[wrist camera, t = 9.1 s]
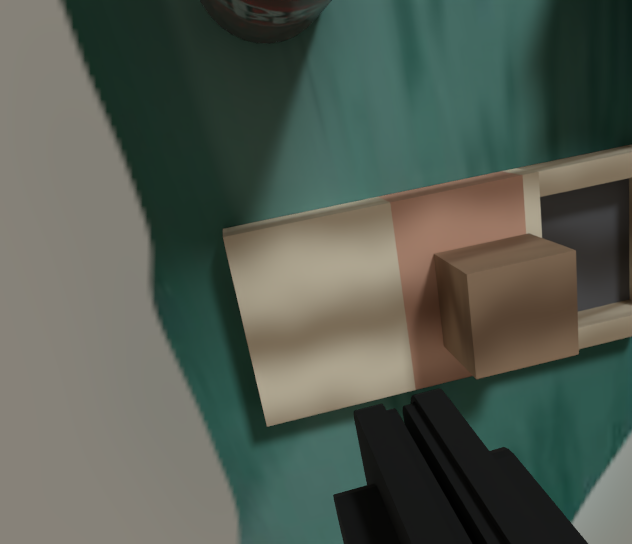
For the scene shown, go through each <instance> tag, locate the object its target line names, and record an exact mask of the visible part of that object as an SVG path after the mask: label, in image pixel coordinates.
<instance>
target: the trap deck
mask: <svg viewBox="0 0 632 544" xmlns="http://www.w3.org/2000/svg"><path fill="white" fill-rule="evenodd" d="M528 233H530V234H532V235H535V236H538V237H541V238H543V239H546V240H549V241H552V242H554V243H557V244H560V245H563V246H565V247H568V248H571V249H574V250H576V271H577V306H578V341H579V349H582V348H586V347H590V346H594V345H598V344H602V343H606V342H610V341H615V340H619V339H623V338H627V337H631V336H632V145H627V146H622V147H617V148H612V149H607V150H602V151H598V152H593V153H588V154H583V155H578V156H573V157H568V158H564V159H559V160H554V161H549V162H544V163H539V164H534V165H530V166H525V167H520V168H515V169H510V170H505V171H501V172H496V173H491V174H486V175H481V176H476V177H471V178H467V179H462V180H457V181H452V182H447V183H442V184H437V185H433V186H428V187H423V188H418V189H413V190H408V191H403V192H399V193H394V194H389V195H384V196H379V197H374V198H369V199H365V200H360V201H355V202H350V203H345V204H340V205H335V206H331V207H326V208H321V209H316V210H311V211H306V212H302V213H297V214H292V215H287V216H282V217H277V218H272V219H268V220H263V221H258V222H253V223H248V224H243V225H238V226H234V227H229V228H224V229H223V240H224V245H225V249H226V253H227V258H228V262H229V266H230V270H231V275H232V279H233V283H234V288H235V292H236V296H237V300H238V305H239V309H240V313H241V317H242V322H243V326H244V330H245V335H246V339H247V343H248V347H249V352H250V356H251V360H252V365H253V369H254V373H255V377H256V382H257V386H258V390H259V394H260V399H261V403H262V407H263V412H264V416H265V420H266V424H267V427H268V426H272V425H276V424H280V423H284V422H288V421H292V420H296V419H300V418H304V417H308V416H313V415H317V414H321V413H325V412H329V411H333V410H337V409H341V408H345V407H349V406H353V405H357V404H361V403H365V402H369V401H373V400H377V399H381V398H385V397H389V396H393V395H397V394H401V393H405V392H409V391H413V390H417V389H421V388H425V387H429V386H433V385H437V384H441V383H445V382H449V381H453V380H457V379H462V378H466V377H470V376H473V375H472V374H471V373H470V372H469V371H468V370H467V369H466V368H465V367H464V366H463V365H462V364H461V363H460V362H459V361H458V360H457V359H456V358H455V357H454V356H453V355H452V354H451V353H450V352H449V351H448V350H447V349H446V348H445V347H444V343H443V334H442V325H441V316H440V307H439V298H438V288H437V279H436V270H435V261H434V254H435V253H439V252H444V251H449V250H453V249H458V248H463V247H467V246H472V245H477V244H481V243H486V242H491V241H495V240H500V239H505V238H509V237H514V236H519V235H523V234H528Z"/></svg>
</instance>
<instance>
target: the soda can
mask: <svg viewBox="0 0 632 544" xmlns="http://www.w3.org/2000/svg"><path fill="white" fill-rule="evenodd" d="M331 1H332V0H200V2H201V3H202V5H203V6H204V8H205V9H206V11H207V12H208V14H209V15H210V16H211V17H212V18H213V19H214V20H215V21H216V23H217V24H218V25H219V26H221V27H222V28H223V29H225V30H226V31H228V32H229V33H230V34H232V35H234V36H236V37H239V38H241V39H243V40H246V41H250V42H254V43H268V44H271V43H276V42H282V41H285V40H288V39H290V38H292V37H295V36H297V35H298V34H299V33H301V32H302V31H304V30H305V29H307V28H308V27H309V25H310V24H311V23H312V22H313V21H314V20H315V19H316V18H317V17H318V16H319V15H320V13H321V12H322V11H323V10H324V9H325V8H326V7H327V5H328V4H329V3H330V2H331Z"/></svg>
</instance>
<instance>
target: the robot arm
mask: <svg viewBox="0 0 632 544" xmlns="http://www.w3.org/2000/svg"><path fill="white" fill-rule="evenodd" d="M403 416H404V422H405V424H404V422H403V420H402V419H401V417H400V415H399V413H398V412H397V410H396V409H395V408H394V409H391V410H387V411H386V409H385V407H384V405H383V404H378V405H374V406H371V407H367V408H363V409H359V410H355V411H354V420H355V425H356V430H357V435H358V440H359V446H360V451H361V456H362V461H363V466H364V471H365V476H366V482H367V486H363V487H359V488H356V489H352V490H349V491H345V492H342V493H338V494H334V495H333V496H334V502H335V507H336V511H337V516H338V520H339V525H340V529H341V533H342V537H343V542H344V544H588V543H587V542H586V541H585V540H584V538H583V537H582V536H581V535H580V533H579V532H578V531H577V530H576V529H575V527H574V526H573V525H572V524H571V522H570V521H569V520H568V519H567V518H566V516H565V515H564V514H563V513H562V512H561V510H560V509H559V508H558V507H557V506H556V504H555V503H554V502H553V501H552V499H551V498H550V497H549V496H548V495H547V493H546V492H545V491H544V490H543V489H542V487H541V486H540V485H539V484H538V483H537V481H536V480H535V479H534V478H533V477H532V475H531V474H530V473H529V472H528V471H527V469H526V468H525V467H524V466H523V464H522V463H521V462H520V461H519V460H518V458H517V457H516V456H515V455H514V454H513V453H512V452H511V451H510V450H509V449H507V448H505V447H503V448H499V449H495V450H492V451H489V450H488V449H487V448H486V446H485V445H484V444H483V442H482V441H481V440H480V438H479V437H478V436H477V434H476V433H475V432H474V431H473V429H472V428H471V427H470V425H469V424H468V423H467V421H466V420H465V419H464V417H463V416H462V415H461V414H460V412H459V411H458V410H457V408H456V407H455V406H454V404H453V403H452V402H451V400H450V399H449V398H448V397H447V395H446V394H445V393H444V391H443V390H442V389H435V390H431V391H427V392H424V393H420V394H416V395H412V396H411V404H409V405H406V406H403Z"/></svg>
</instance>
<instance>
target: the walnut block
mask: <svg viewBox="0 0 632 544" xmlns="http://www.w3.org/2000/svg"><path fill="white" fill-rule="evenodd" d="M434 261H435V270H436V279H437V288H438V298H439V307H440V316H441V325H442V334H443V343H444V347H445V348H446V349H447V350H448V351H449V352H450V353H451V354H452V355H453V356H454V357H455V358H456V359H457V360H458V361H459V362H460V363H461V364H462V365H463V366H464V367H465V368H466V369H467V370H468V371H469V372H470V373H471V374H472V375H473V376H474V377H475V378H476V379H480V378H484V377H488V376H492V375H496V374H500V373H504V372H508V371H512V370H517V369H521V368H525V367H529V366H533V365H537V364H541V363H545V362H549V361H554V360H558V359H562V358H566V357H570V356H574V355H578V354H579V341H578V306H577V271H576V250H574V249H571V248H568V247H565V246H563V245H560V244H557V243H554V242H552V241H549V240H546V239H543V238H541V237H538V236H535V235H532V234H530V233H528V234H523V235H519V236H514V237H509V238H505V239H500V240H495V241H491V242H486V243H481V244H477V245H472V246H467V247H463V248H458V249H453V250H449V251H444V252H439V253H435V254H434Z"/></svg>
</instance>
